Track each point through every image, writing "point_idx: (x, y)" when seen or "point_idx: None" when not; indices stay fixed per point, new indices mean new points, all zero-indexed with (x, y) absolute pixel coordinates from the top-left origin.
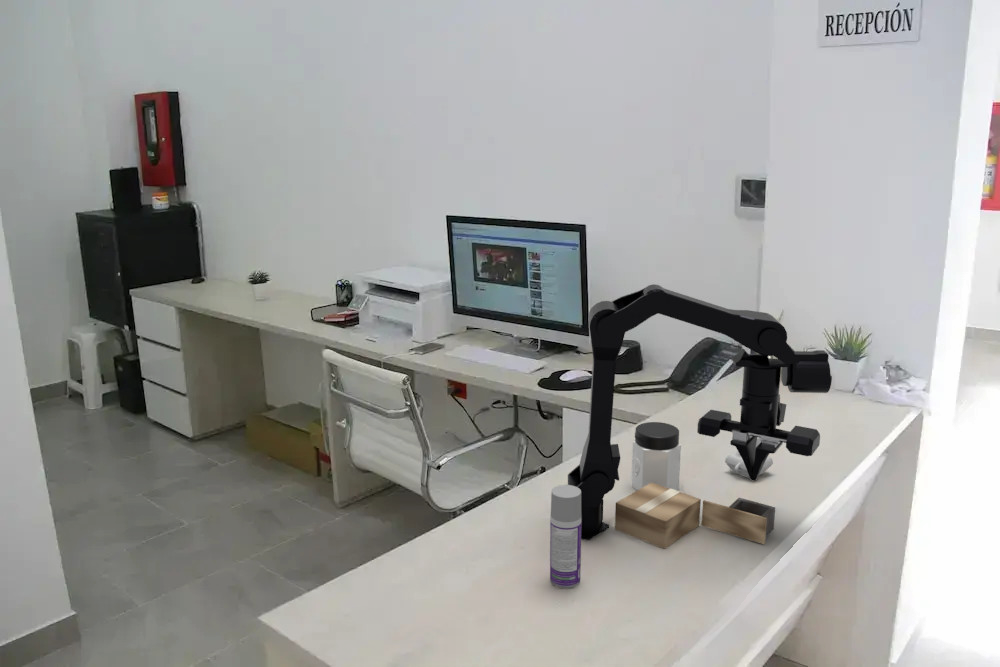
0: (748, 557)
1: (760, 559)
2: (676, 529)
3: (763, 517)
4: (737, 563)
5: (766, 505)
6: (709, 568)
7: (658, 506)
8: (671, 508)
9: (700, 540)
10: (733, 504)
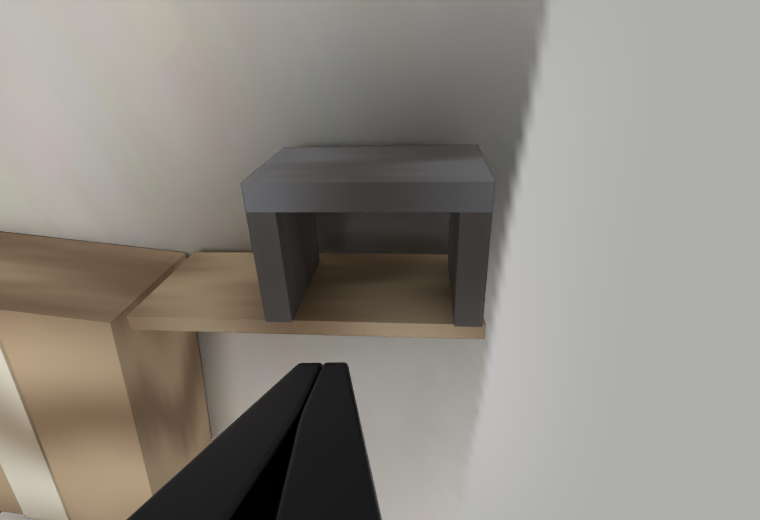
0: (447, 362)
1: (488, 353)
2: (183, 424)
3: (467, 331)
4: (429, 408)
5: (434, 191)
6: (371, 463)
7: (52, 463)
8: (97, 453)
9: (259, 345)
10: (268, 287)
